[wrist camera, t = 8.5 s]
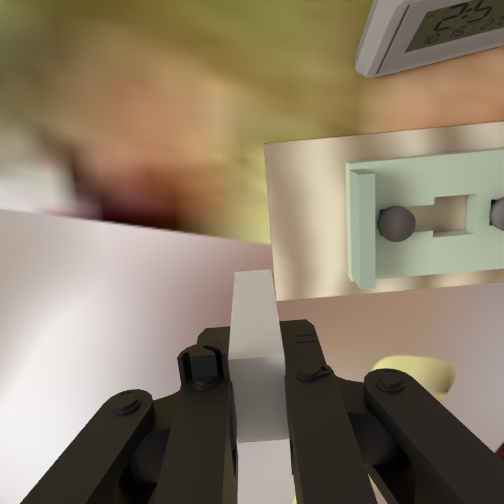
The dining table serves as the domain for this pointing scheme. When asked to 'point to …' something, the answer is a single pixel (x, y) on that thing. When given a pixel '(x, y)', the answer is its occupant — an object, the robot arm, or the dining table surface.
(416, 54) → the digital clock
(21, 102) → the dining table surface
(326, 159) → the board
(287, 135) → the dining table surface
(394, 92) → the dining table surface
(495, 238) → the panel
